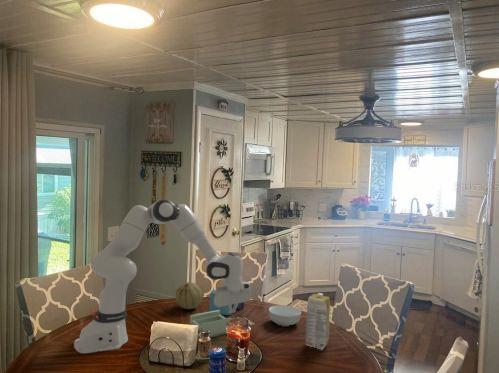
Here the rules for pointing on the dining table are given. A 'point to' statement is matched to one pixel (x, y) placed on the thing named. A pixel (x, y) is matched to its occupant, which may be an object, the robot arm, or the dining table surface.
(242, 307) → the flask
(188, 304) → the cantaloupe
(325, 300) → the juice carton
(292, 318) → the cereal bowl
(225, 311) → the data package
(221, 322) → the box
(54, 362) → the dining table surface
